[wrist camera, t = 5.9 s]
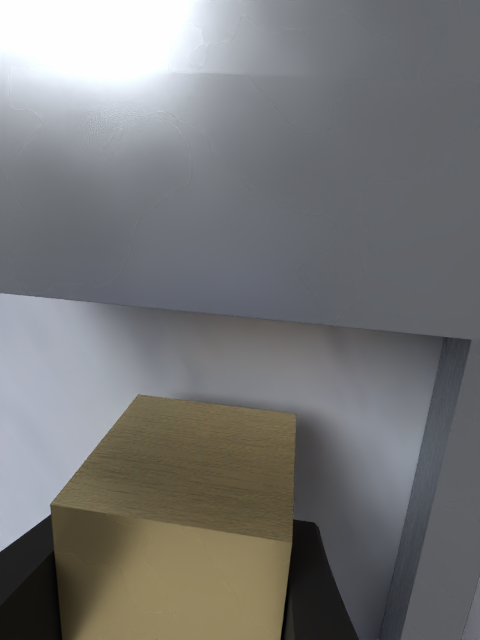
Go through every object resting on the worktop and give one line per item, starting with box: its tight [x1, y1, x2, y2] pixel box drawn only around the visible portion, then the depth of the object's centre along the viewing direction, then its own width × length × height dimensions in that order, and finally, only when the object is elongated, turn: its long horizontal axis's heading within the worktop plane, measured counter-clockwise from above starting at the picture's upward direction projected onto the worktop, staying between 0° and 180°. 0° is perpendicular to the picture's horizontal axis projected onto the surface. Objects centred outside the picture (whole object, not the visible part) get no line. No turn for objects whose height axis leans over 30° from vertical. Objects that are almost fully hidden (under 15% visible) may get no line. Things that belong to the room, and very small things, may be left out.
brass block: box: [50, 395, 296, 640], centre depth 10 cm, size 4×5×4 cm
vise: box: [0, 0, 480, 640], centre depth 11 cm, size 12×28×5 cm, turn 176°
